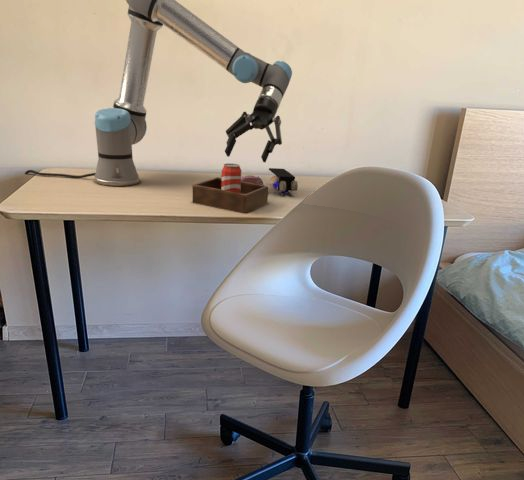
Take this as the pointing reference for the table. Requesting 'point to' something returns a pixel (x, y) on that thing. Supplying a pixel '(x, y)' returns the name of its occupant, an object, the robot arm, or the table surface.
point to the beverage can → (231, 178)
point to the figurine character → (283, 181)
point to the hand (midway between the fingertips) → (244, 156)
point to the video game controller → (252, 179)
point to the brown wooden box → (230, 195)
